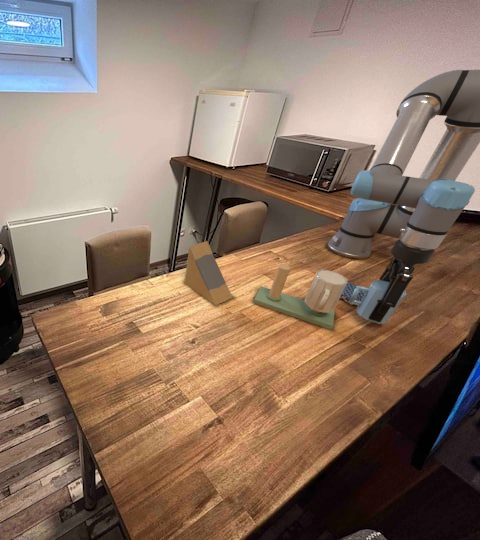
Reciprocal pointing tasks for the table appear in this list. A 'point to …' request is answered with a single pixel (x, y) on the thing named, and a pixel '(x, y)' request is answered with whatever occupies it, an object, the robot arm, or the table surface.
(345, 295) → the woven mat
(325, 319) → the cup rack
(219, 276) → the sandwich container
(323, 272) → the cream cup
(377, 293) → the blue cup
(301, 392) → the table surface
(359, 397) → the table surface
